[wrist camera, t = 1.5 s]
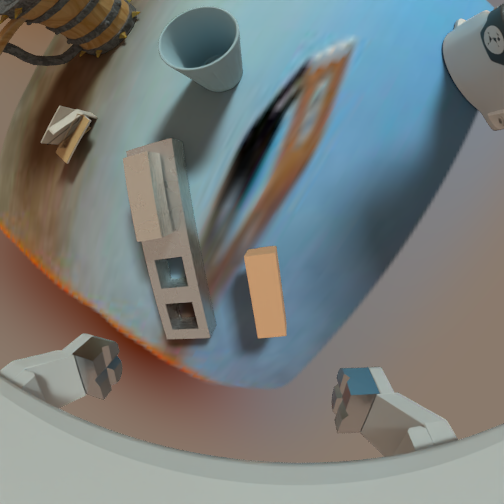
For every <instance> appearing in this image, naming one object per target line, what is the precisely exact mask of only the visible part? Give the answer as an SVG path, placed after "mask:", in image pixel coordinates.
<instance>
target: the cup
mask: <svg viewBox="0 0 504 504" xmlns="http://www.w3.org/2000/svg"><path fill="white" fill-rule="evenodd" d="M158 51H159V54H160V57H161V58H162V60H163V61H164V62H165V63H166V64H167V65H169V66H170V67H172V68H173V69H175V70H177V71H179V72H180V73H182V74H184V75H185V76H187V77H189V78H190V79H192V80H193V81H195V82H196V83H198V84H200V85H201V86H203V87H204V88H206V89H208V90H210V91H213V92H223V91H226V90H229V89H231V88H233V87H234V86H235V85H236V84H237V83H238V82H239V81H240V79H241V77H242V74H243V68H242V57H241V47H240V32H239V25H238V23H237V20H236V19H235V17H234V16H233V15H232V14H231V13H229V12H228V11H226V10H224V9H222V8H219V7H213V6H202V7H196V8H192V9H189V10H187V11H185V12H183V13H181V14H179V15H177V16H176V17H175V18H173V19H172V20H171V21H170V22H169V23H168V24H167V25H166V27H165V28H164V29H163V31H162V33H161V35H160V38H159V42H158Z"/></svg>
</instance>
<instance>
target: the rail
mask: <svg viewBox="0 0 504 504" xmlns="http://www.w3.org/2000/svg"><path fill="white" fill-rule="evenodd" d="M126 153H127V157H126V158H123V163H124V170H125V177H126V184H127V190H128V196H129V202H130V208H131V213H132V218H133V224H134V229H135V234H136V238H137V242H140V241H141V242H142V246H143V251H144V255H145V260H146V264H147V268H148V272H149V276H150V280H151V284H152V288H153V292H154V296H155V299H156V303H157V307H158V310H159V314H160V317H161V320H162V324H163V327H164V330H165V334H166V337H167V339H195V338H211V336H212V333H213V331H214V329H215V327H216V320H215V316H214V311H213V307H212V302H211V298H210V293H209V289H208V284H207V279H206V274H205V270H204V265H203V260H202V255H201V250H200V244H199V239H198V234H197V228H196V223H195V218H194V212H193V206H192V200H191V195H190V189H189V183H188V176H187V170H186V164H185V157H184V150H183V143H182V141H179V140H176V139H173V138H169V139H166V140H162V141H158V142H155V143H152V144H148V145H145V146H142V147H138V148H135V149H132V150H129V151H126ZM175 257H182V260H183V264H184V269H185V273H186V278H181V279H171V274H170V270H169V266H168V261H167V258H175ZM186 302H192V304H193V308H194V312H195V316H196V317H186V318H181V314H180V311H179V307H178V303H186Z"/></svg>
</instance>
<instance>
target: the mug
mask: <svg viewBox="0 0 504 504" xmlns="http://www.w3.org/2000/svg"><path fill="white" fill-rule="evenodd" d="M130 1H131V0H0V15H2V17H1V20H0V24H1V23H2V22H3V21H4V20H6V19H7V18H8V17H9V18H10V19H11V20H10V21H9V22H8V23H7V25H6V26H5V27H4V28H3V29H2V31H1V32H0V55H1V54H2V52H6V53H9V54H11V55H14V56H16V57H17V58H19V59H21V60H23V61H25V62H27V63H30V64H33V65H43V66H50V65H60V64H65V63H67V62H69V61H70V60H71V59H72V58H74V57H75V56H76V55H77V54H78V53H79V52H80V51H81V54H80V56H79V57H81V56H82V55H83V54H85V53H87V54H91V55H94V56H95V55H97V58H98V57H99V55H100V54H104V53H106V52H108V51H109V50H111V49H113V48H115V47H116V46H117V45H118V44H119V43H120V42H122V41H123V40H124V39H125V38H127V35H128V34H129V32H130V31H131V30H132V28H133V27H134V24H135V21H136V18H137V14H139V13H140V12H136V8H134V7H133V6H132V5H131V4H130ZM24 22H27V25H31V24H32V23H39V24H42V25H45V26H46V28H47V29H49V30H51V31H53V32H55V34H56V35H58V34H59V33H61V34H62V35H64V36H66V38H67V39H68V40H67V43H68V44H70V43H71V44H73V45H72V46H71V47H70V48H69V49H68V50H67V51H66V52H64V53H63V54H61V55H57V56H36V55H33V54H30V53H28V52H26V51H24V50H23V49H21V48H19V47H17V46H15V45H13V44H10V43H8V42H9V40H10V39H11V37H12V36H13V34H14V33H15V32H16V31H17V29H18V28H19V27H20V26H21V25H22V24H23V23H24Z"/></svg>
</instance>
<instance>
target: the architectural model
mask: <svg viewBox="0 0 504 504" xmlns="http://www.w3.org/2000/svg"><path fill="white" fill-rule="evenodd" d="M89 117H91V118H95V119H97V117H96V116H95V115H94V114H92V113H90V112H86V111H83V110H79V109H76V110H75V109H71V108H67V107H63V106H59V107H58V109H57V111H56V113H55V115H54V116H53V118H52V120H51V122H50V124H49V126H48V128H47V130H46V132H45V134H44V136H43V138H42V141H41V143H44V144H47V145H48V144H57V145H59V146H58V149H57V151H56V153H57V154H58V155H59V156H60V157H61V158H62V159H63V160H64V161H65V162H66V163H69V161H70V159H71V157H72V155H73V153H74V151H75V149H76V147H77V145H78V144H79V142H80V140H81V138H82V136H83V135H84V134H85V133H86V132H88V131H89V130H90V129H91V127H88V126H89V124H90V122H91V120H90V119H88V118H89Z"/></svg>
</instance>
